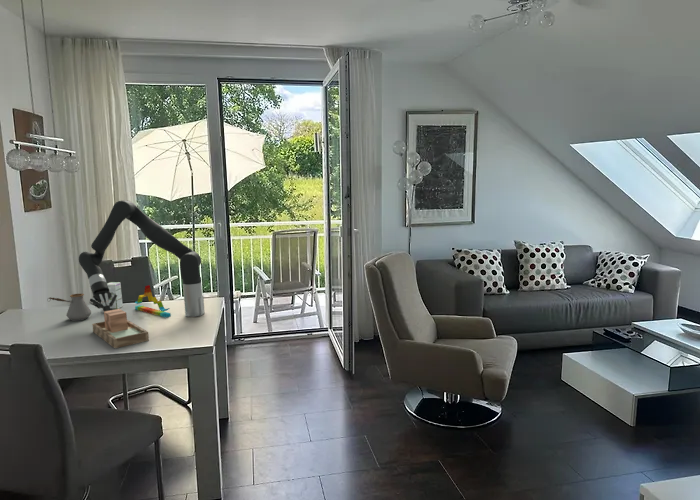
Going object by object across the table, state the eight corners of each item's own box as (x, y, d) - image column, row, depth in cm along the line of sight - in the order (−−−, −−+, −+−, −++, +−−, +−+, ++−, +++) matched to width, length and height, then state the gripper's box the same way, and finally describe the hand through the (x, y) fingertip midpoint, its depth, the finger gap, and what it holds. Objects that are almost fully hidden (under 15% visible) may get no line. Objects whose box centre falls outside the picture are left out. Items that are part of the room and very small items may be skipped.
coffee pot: (81, 314, 267) (78, 287, 264) (96, 316, 262) (93, 289, 260) (43, 326, 247) (40, 296, 245) (59, 328, 243) (55, 298, 241)
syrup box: (123, 306, 282) (120, 281, 280) (117, 309, 277) (115, 284, 274) (113, 306, 283) (111, 281, 281) (107, 309, 277) (105, 284, 275)
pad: (106, 339, 224) (105, 333, 224) (133, 333, 232) (133, 327, 232) (113, 344, 216) (112, 338, 216) (141, 338, 224) (140, 332, 224)
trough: (93, 331, 235) (92, 323, 235) (124, 325, 245) (123, 317, 244) (114, 348, 211) (113, 339, 210) (148, 340, 221) (148, 331, 220)
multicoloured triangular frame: (171, 316, 260) (169, 288, 258) (165, 318, 257) (163, 289, 255) (140, 308, 278) (138, 282, 276) (135, 309, 276) (132, 283, 274)
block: (105, 328, 232) (103, 311, 231) (120, 324, 237) (119, 308, 236) (111, 332, 225) (110, 315, 224) (127, 329, 230) (126, 312, 228)
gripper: (85, 282, 239) (94, 312, 232) (113, 278, 248) (123, 306, 240) (83, 291, 244) (92, 320, 236) (111, 287, 252) (121, 315, 245)
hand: (108, 313), depth 238 cm, fingers closed
